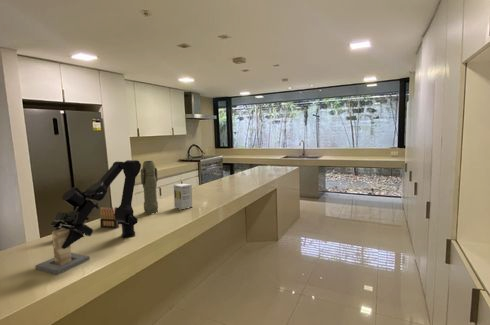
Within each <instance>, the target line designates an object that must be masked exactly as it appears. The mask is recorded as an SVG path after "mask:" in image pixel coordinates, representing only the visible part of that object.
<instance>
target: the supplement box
mask: <svg viewBox="0 0 490 325" xmlns="http://www.w3.org/2000/svg"><path fill="white" fill-rule="evenodd" d="M192 186H193V185H192V184H190V183H178V184H173V197H174V198H173V201H174V208H175V207H176V208H175V209H177V208H179V209H178V210H180V209H184V210H186V209H185V208H188V207H192V208H193V190H192V189H193V188H192ZM188 209H189V208H188Z"/></svg>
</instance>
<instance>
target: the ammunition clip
mask: <svg viewBox="0 0 490 325" xmlns="http://www.w3.org/2000/svg"><path fill="white" fill-rule="evenodd" d="M116 207H117V206H116ZM116 207H115V206H114V207H113V206H112V207H110V206H106V207H105V206H103V207H102V206H101V207H100V219H99V221H100V228H102V229H104V228H105V229H119V227H120V226H119V225H120V224H118V223H117V221H116V219H115V216H114V214H115V209H116Z"/></svg>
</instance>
